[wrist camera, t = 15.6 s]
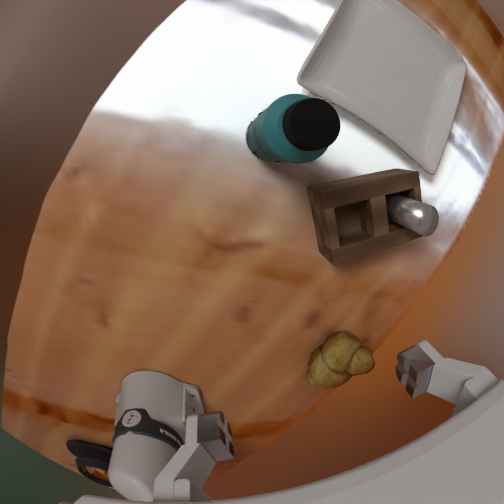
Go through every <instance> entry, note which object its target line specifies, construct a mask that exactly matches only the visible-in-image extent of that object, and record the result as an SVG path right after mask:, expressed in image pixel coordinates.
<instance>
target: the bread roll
mask: <svg viewBox="0 0 504 504" xmlns="http://www.w3.org/2000/svg"><path fill="white" fill-rule="evenodd" d="M374 366H375V362H374V360H373V357H372V353H371V351H370V350H369V349H368V348H366V347H362V343H361V342H360V341H359V340H358V339H357V338H356V337H354V336H353V335H351V334H349V333H348V332H346V331H340V332H336V333H334V334H332V335H330V336H329V337H328V338H327V339H326V340H325V342H324V343H323V344H322V345H320V346H319V347H318V348H316V350H315V351H314V352H313V353H312V354H311V358H310V361H309V363H308V370H307V380H308V382H309V383H310V384H311V385H313V386H320V387H323V388H326V389H327V388H336V387H338V386H341V385H343V384H344V383H346V382H347V381H348V380H349V379H350V378H351V377H352V376H355V375H360V374H366V373H368V372H370V371H371V370H372V369H373V368H374Z"/></svg>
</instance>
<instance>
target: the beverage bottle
mask: <svg viewBox="0 0 504 504" xmlns="http://www.w3.org/2000/svg"><path fill="white" fill-rule="evenodd" d="M247 129H248V130H247V134H246V141H247V145H248V147H249V149H250V150H251V151H252V153H253V154H254V156H255V155H256V156H257V157H258V158H261V159H264V160H272V161H273V162H274V161H275V162H281V163H282V162H283V161H285V162H293V163H306V162H310V161H313V160H315V159H317V158H318V157H320V156H321V155H322V154H323V153H324V152H325V151H326V150H327V148H328V146H329V145H331V144H332V143H333V142H334V141H335V140H336V138H337V136H338V134H339V131H340V119H339V116H338V114H337V112H336V110H335V109H334V108H333V107H332V106H331V105H330V104H329V103H327V102H326V101H324V100H321V99H318V98H311V97H308V96H306V95H302V94H289V95H285V96H282V97H280V98H278V99H277V100H275V101H274V102H273V103H272V104H271V105H270V106H269V107H268V108H267V109H266V110H264V111H263V112H261V113H260V114H259V115H258V117H257V118H256V119H255V120H254V121H253V122H252V121H251V123H250V124H249V126H248V128H247ZM250 150H249V151H250ZM269 162H271V161H269Z"/></svg>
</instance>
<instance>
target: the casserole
mask: <svg viewBox="0 0 504 504" xmlns="http://www.w3.org/2000/svg"><path fill="white" fill-rule="evenodd" d="M66 445H67V447H68V449H69V451H70V452H71V453H72V454H73V455H75V456H77V457H78V458H77V459H76V460H75V461H76V464H77V468H78V470H79V472H80V473H81V474H83V475H84V476H85V477H87V478H89V479H90V480H92V481H94V482H97V483H99V484H102V485H105V486H108V487H113V486H112V485H111V483H110V481H109V478H108V468H109V464H110V459H111V455H112V450H110V449H107V448H104V447H101V446H97V445H92V444H86V443H83V442H79V441H76V440H68V441H67V444H66ZM113 488H114V487H113Z"/></svg>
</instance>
